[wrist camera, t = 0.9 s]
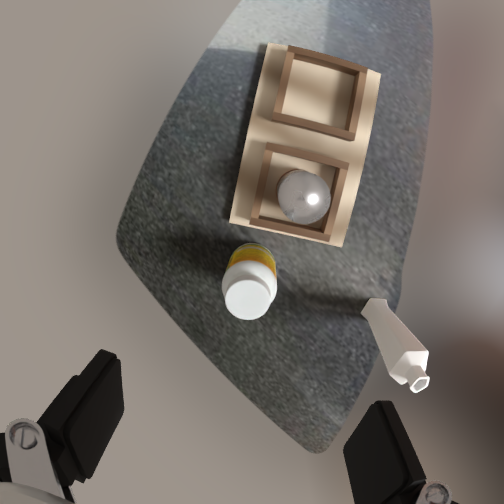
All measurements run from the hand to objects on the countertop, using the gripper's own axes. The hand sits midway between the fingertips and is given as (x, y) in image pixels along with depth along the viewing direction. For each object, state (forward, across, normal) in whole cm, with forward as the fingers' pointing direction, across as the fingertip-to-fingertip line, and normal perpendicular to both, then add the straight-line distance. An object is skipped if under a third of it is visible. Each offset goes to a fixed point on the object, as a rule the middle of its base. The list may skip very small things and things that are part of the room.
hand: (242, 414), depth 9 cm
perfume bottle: (+26, -17, +6) cm, 31 cm away
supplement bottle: (+26, 0, +3) cm, 26 cm away
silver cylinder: (+24, -3, -7) cm, 25 cm away
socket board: (+25, -3, -12) cm, 28 cm away
